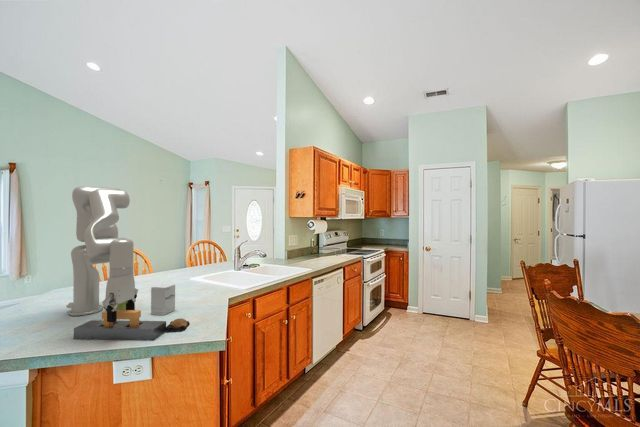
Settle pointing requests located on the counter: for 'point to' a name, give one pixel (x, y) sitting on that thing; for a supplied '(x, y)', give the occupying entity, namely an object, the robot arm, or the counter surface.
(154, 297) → the supplement box
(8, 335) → the counter surface
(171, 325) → the toy turtle
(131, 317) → the light wooden bench shape
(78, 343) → the counter surface
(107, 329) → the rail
